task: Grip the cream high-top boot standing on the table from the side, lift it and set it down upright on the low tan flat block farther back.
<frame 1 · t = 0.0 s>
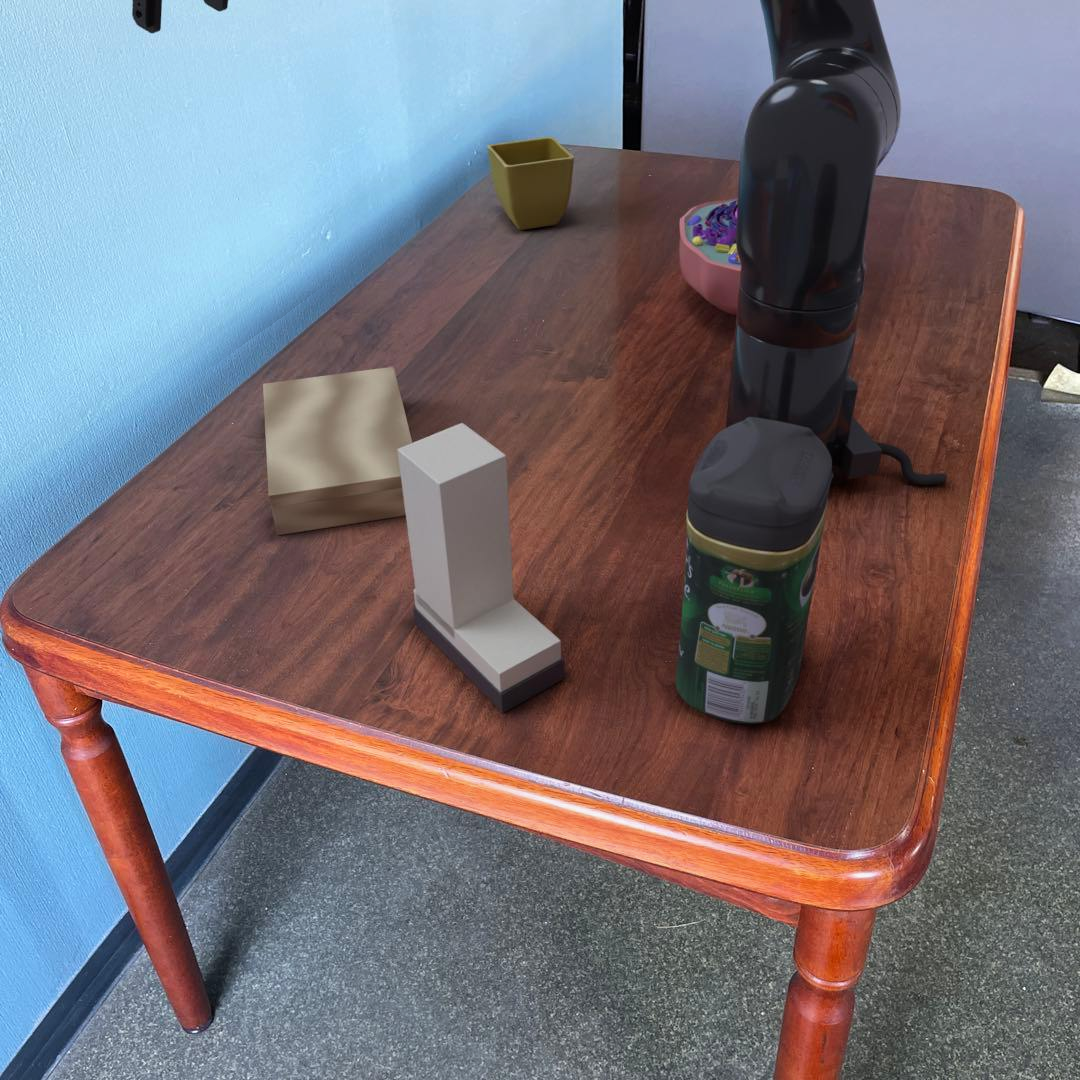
hand: (182, 17, 93), 31 cm above the table, tool tilted 20°, fingers open, 8 cm apart
boot: (467, 631, 77), on the table
tan flat block: (342, 464, 95), on the table
cell model: (750, 304, 117), on the table
coffee jar: (736, 679, 73), on the table
flower pot: (532, 223, 137), on the table
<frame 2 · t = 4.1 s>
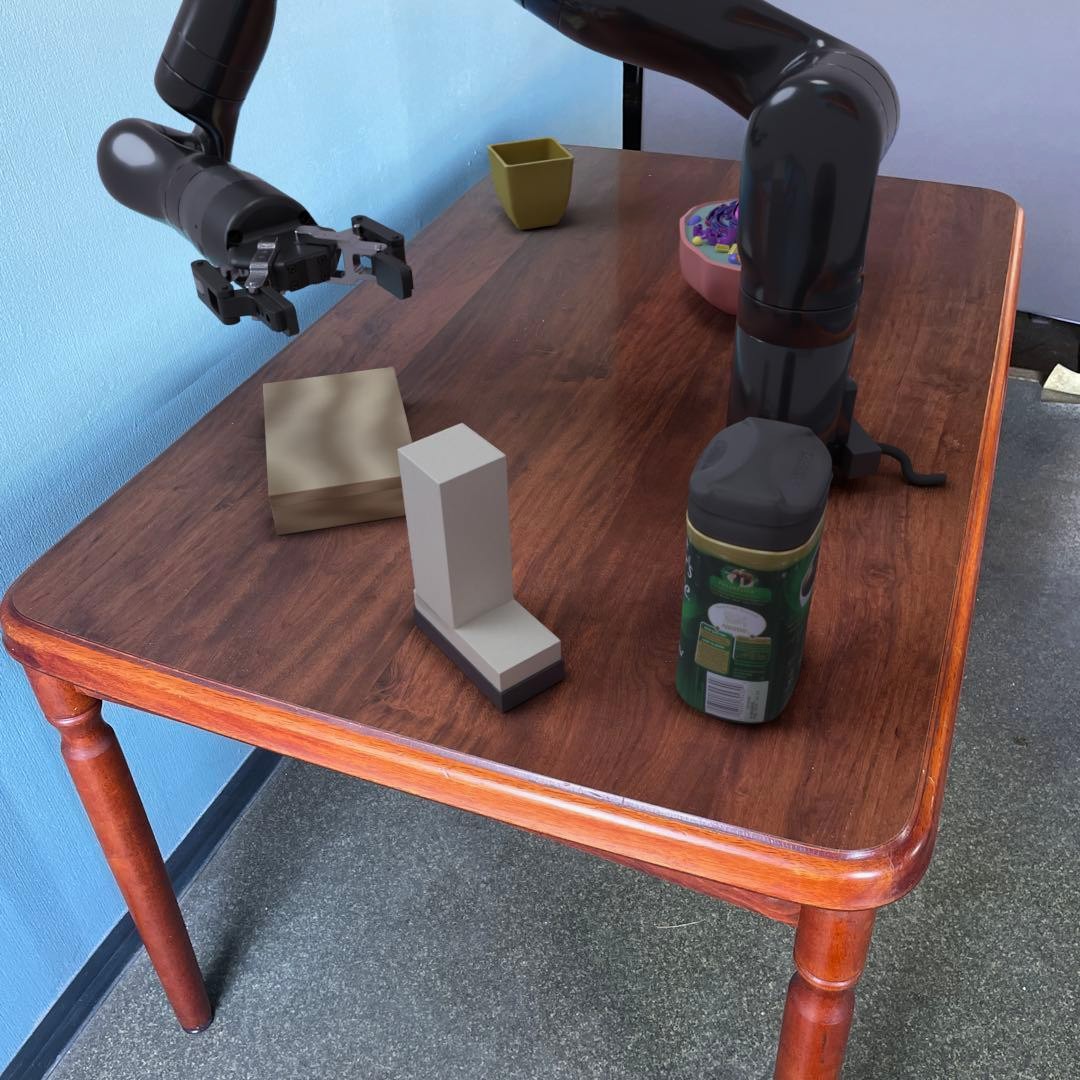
hand: (351, 303, 71), 22 cm above the table, tool horizontal, fingers open, 8 cm apart
nothing on the table moved.
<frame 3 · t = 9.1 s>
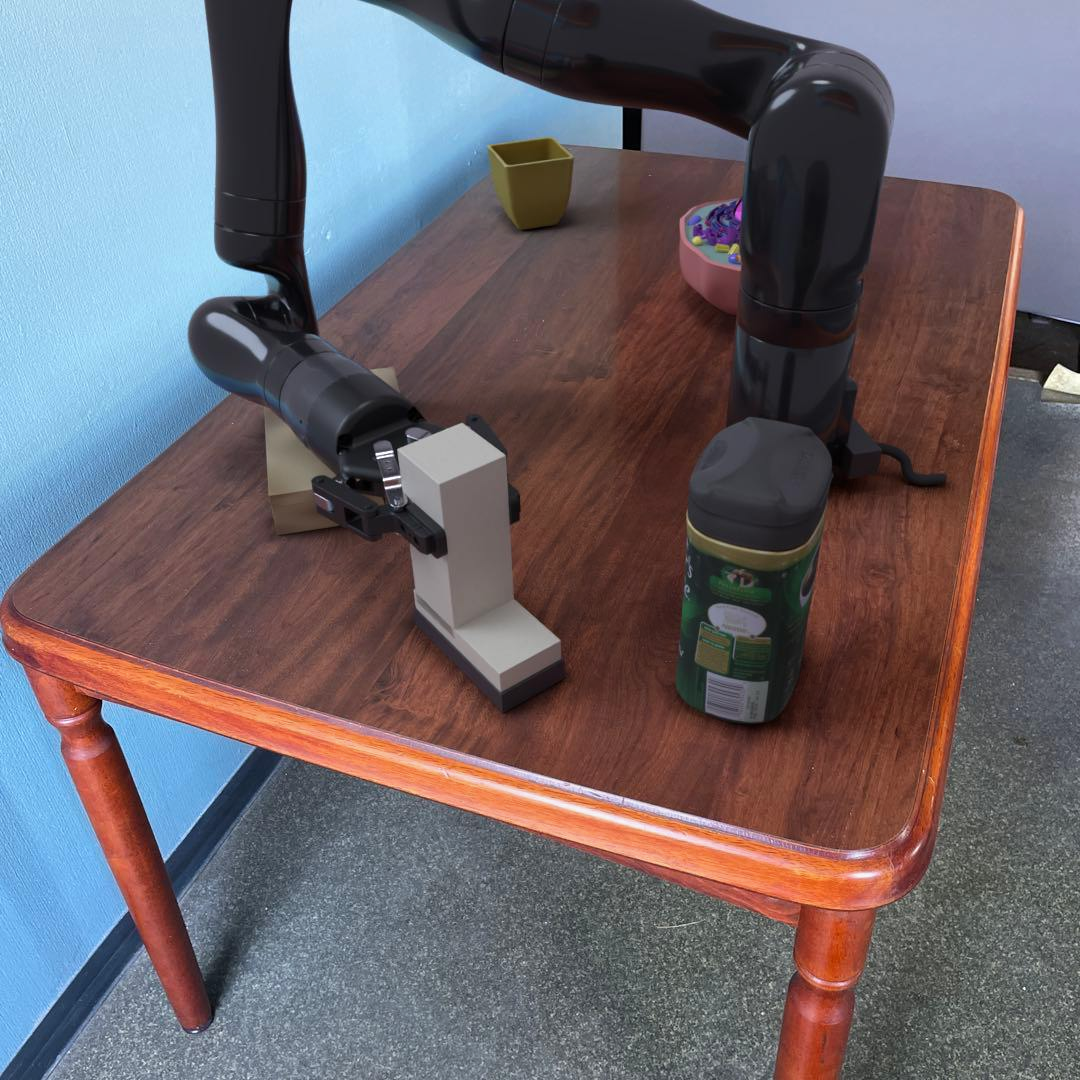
hand: (479, 528, 69), 11 cm above the table, tool horizontal, fingers closed on boot, 5 cm apart
boot: (468, 631, 77), on the table, touching gripper
everything else where it was.
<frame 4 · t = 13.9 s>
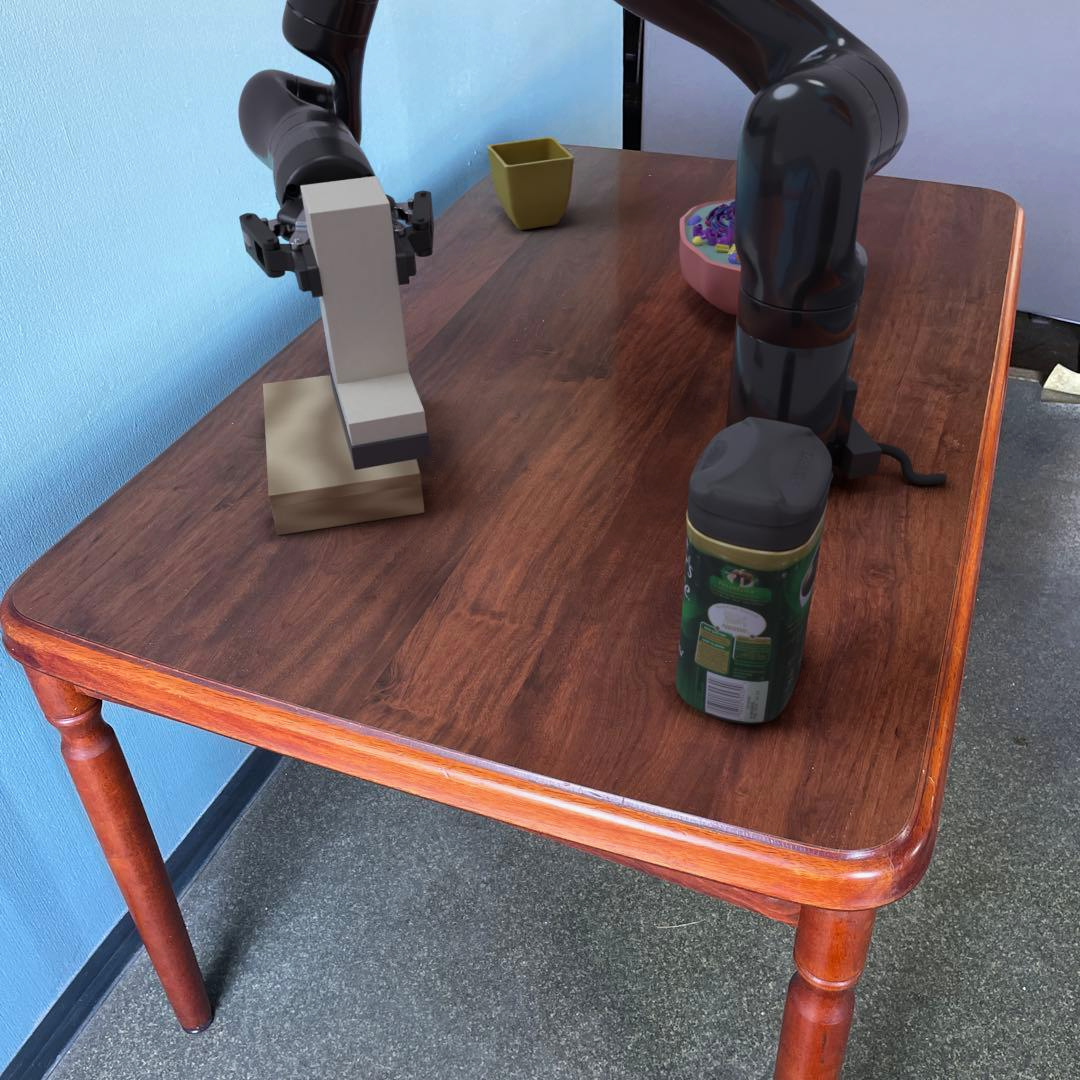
hand: (360, 276, 69), 24 cm above the table, tool horizontal, fingers closed on boot, 5 cm apart
boot: (373, 403, 78), point 13 cm above the table, touching gripper
everything else where it was.
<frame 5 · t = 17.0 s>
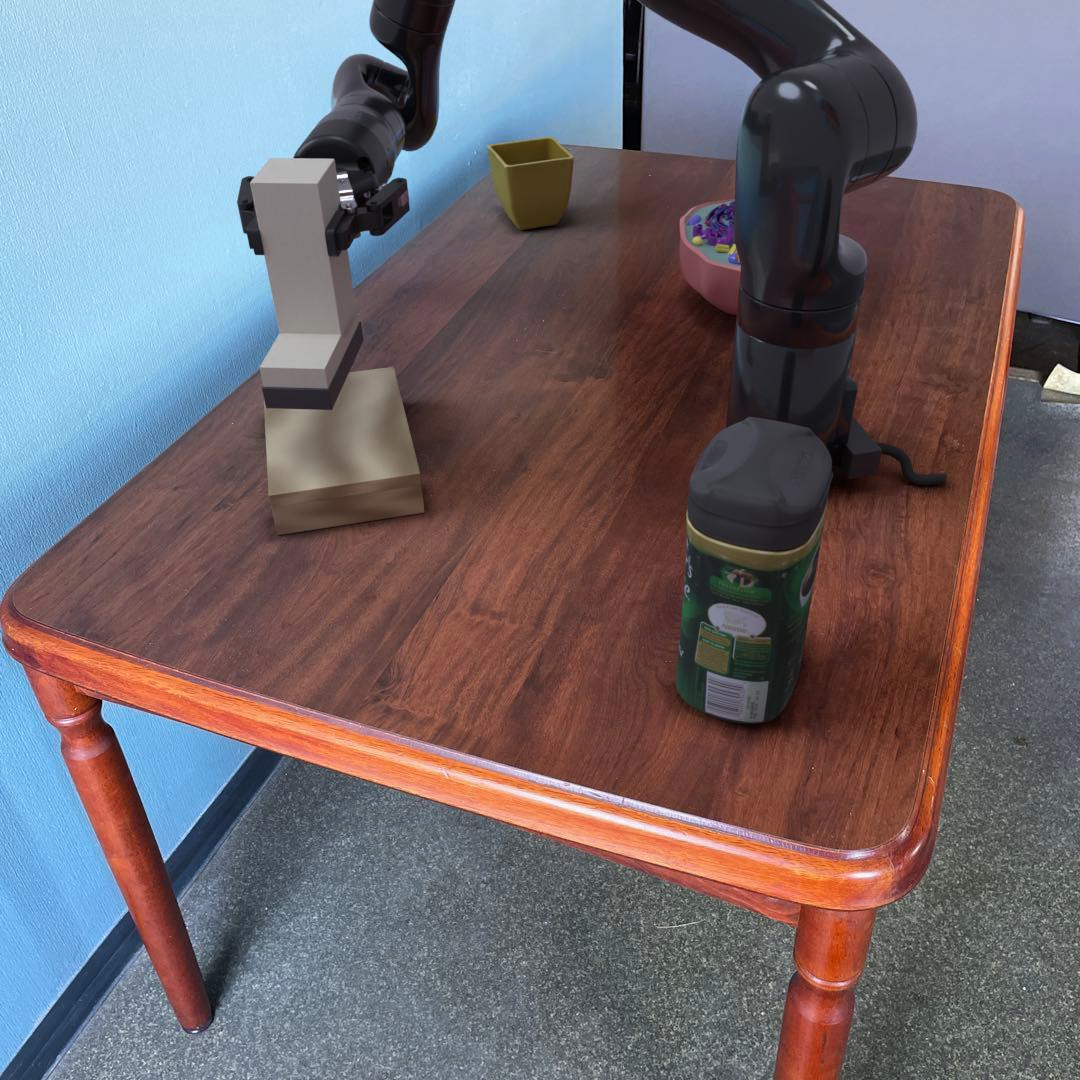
hand: (294, 243, 79), 21 cm above the table, tool horizontal, fingers closed on boot, 5 cm apart
boot: (324, 357, 88), point 10 cm above the table, touching gripper
everything else where it was.
when the fingers open (15 cm above the table, at t = 19.2 s): boot stays where it is, resting on tan flat block.
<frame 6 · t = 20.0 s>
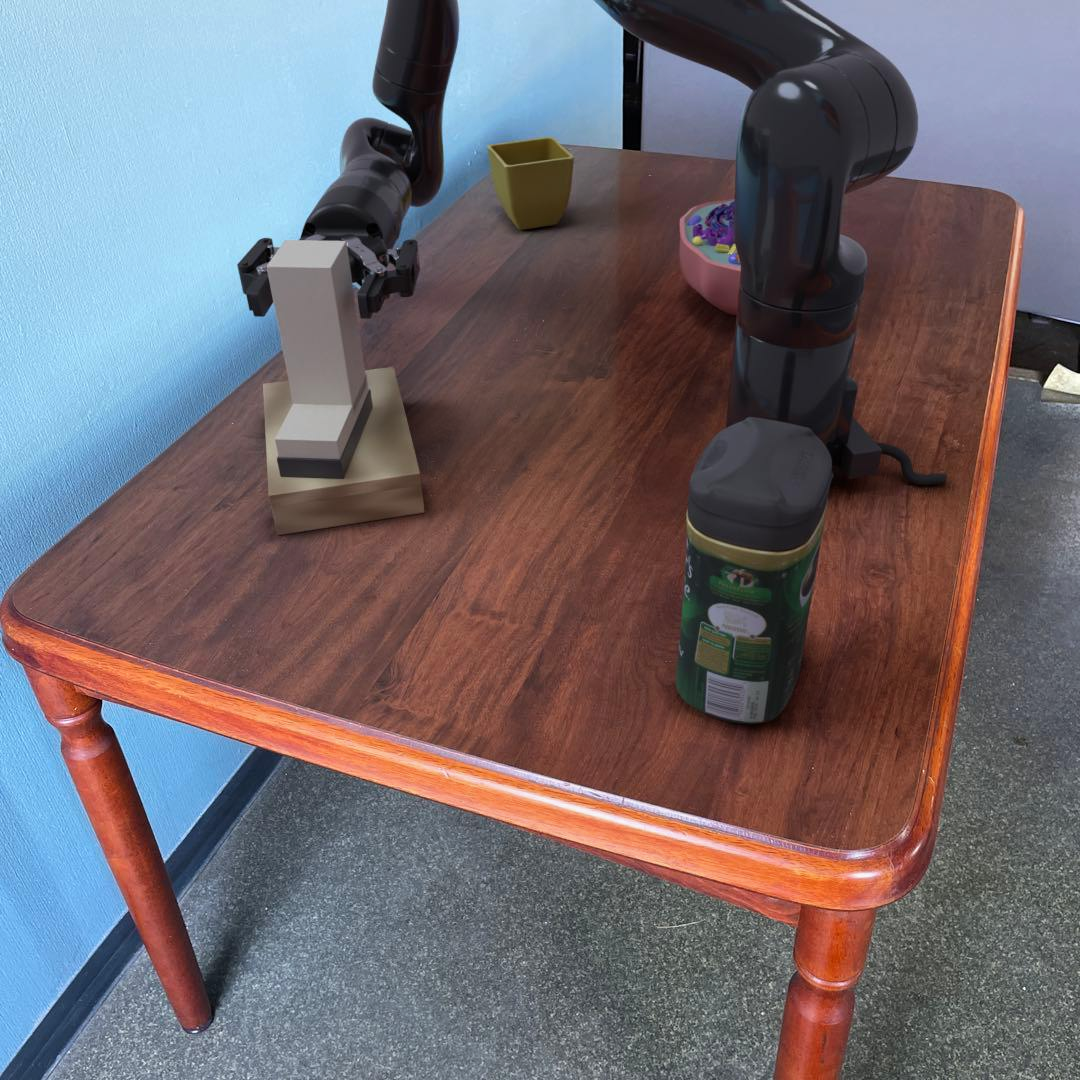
hand: (309, 307, 83), 16 cm above the table, tool horizontal, fingers open, 8 cm apart
boot: (335, 424, 92), point 4 cm above the table, touching tan flat block
everything else where it was.
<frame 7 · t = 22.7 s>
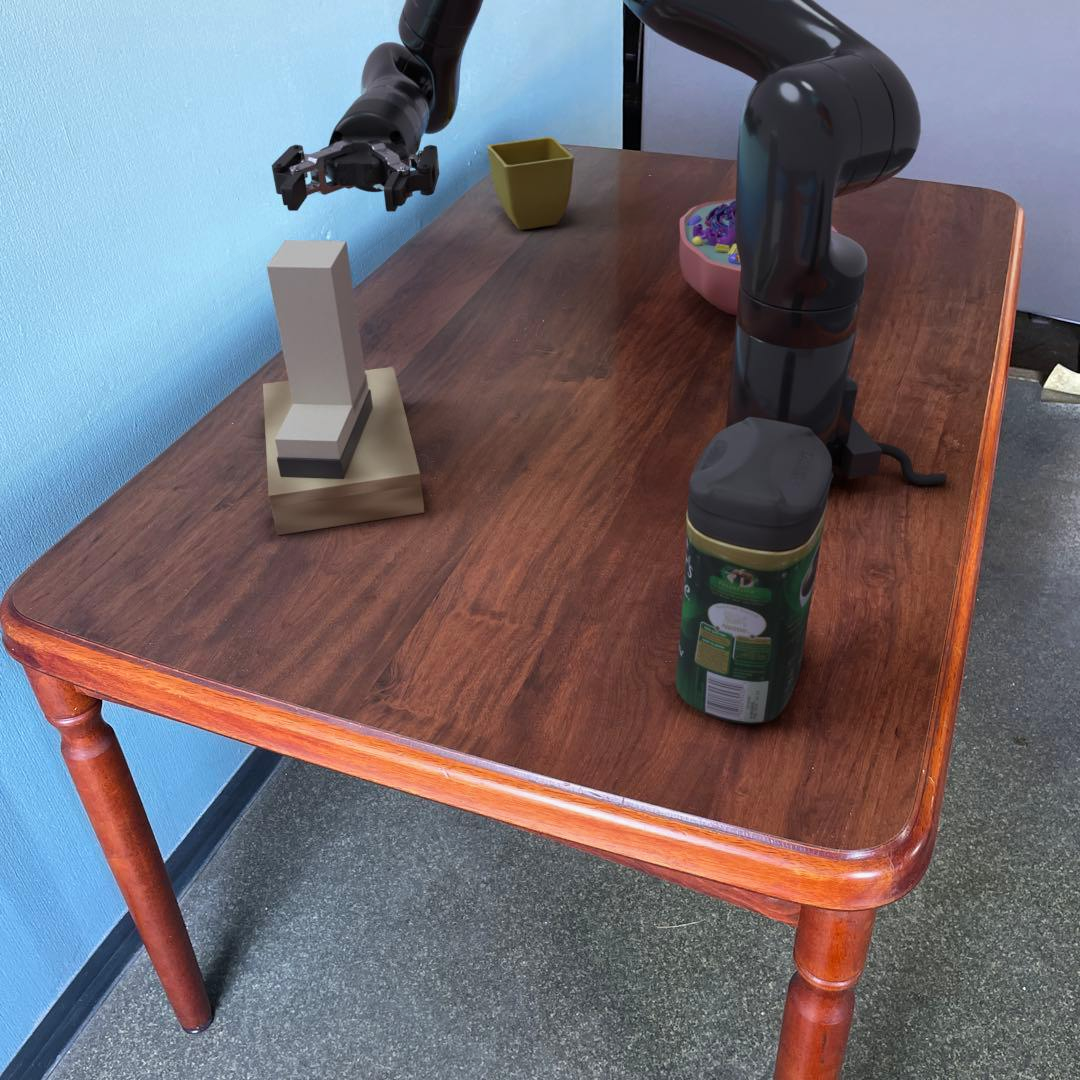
hand: (339, 200, 91), 20 cm above the table, tool horizontal, fingers open, 8 cm apart
nothing on the table moved.
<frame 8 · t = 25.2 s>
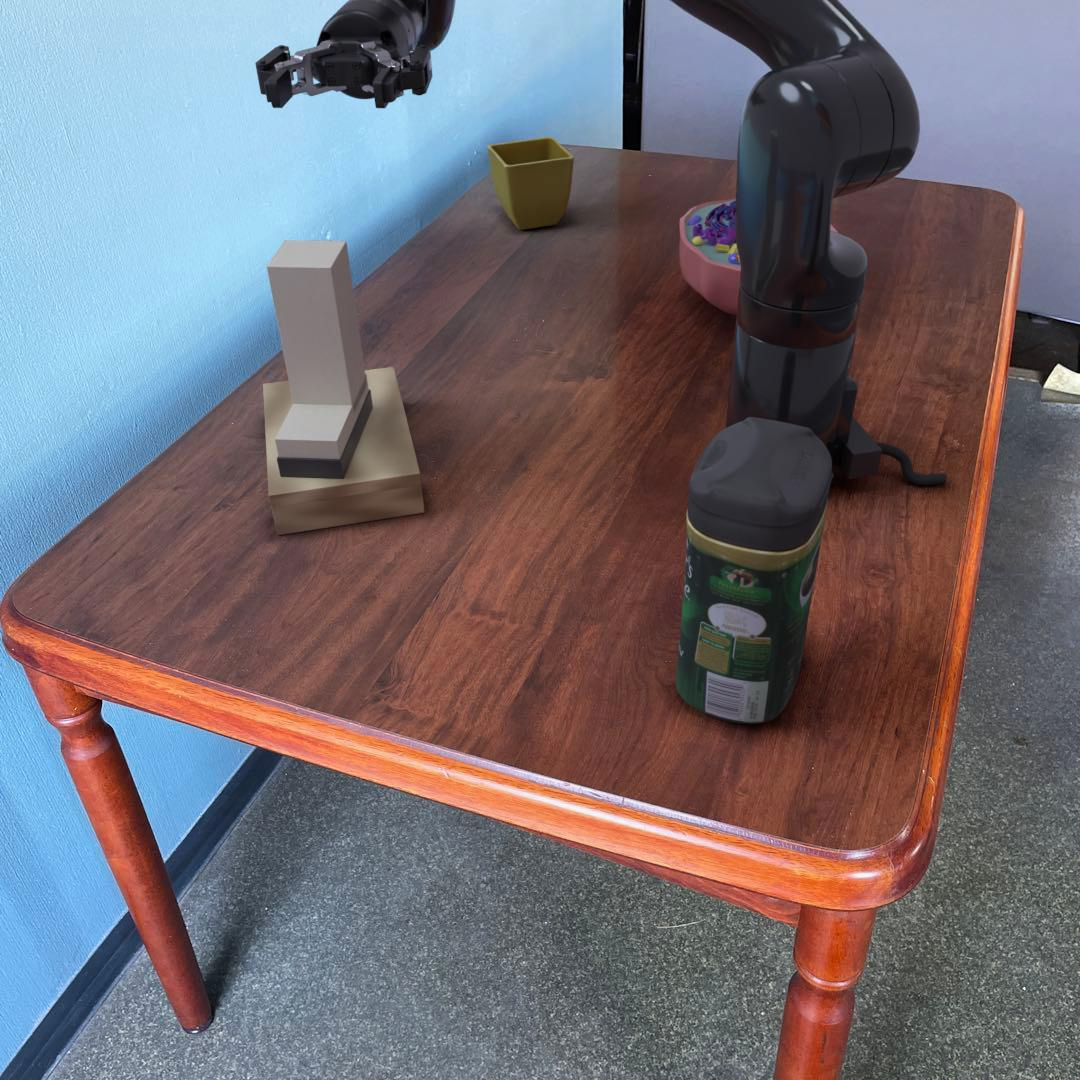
hand: (326, 95, 86), 28 cm above the table, tool horizontal, fingers open, 8 cm apart
nothing on the table moved.
at the end: boot inside the target area on the tan flat block (0.1 cm from its centre), point 4.0 cm above the tan flat block's base; boot tilted 0°; the gripper is holding nothing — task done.
